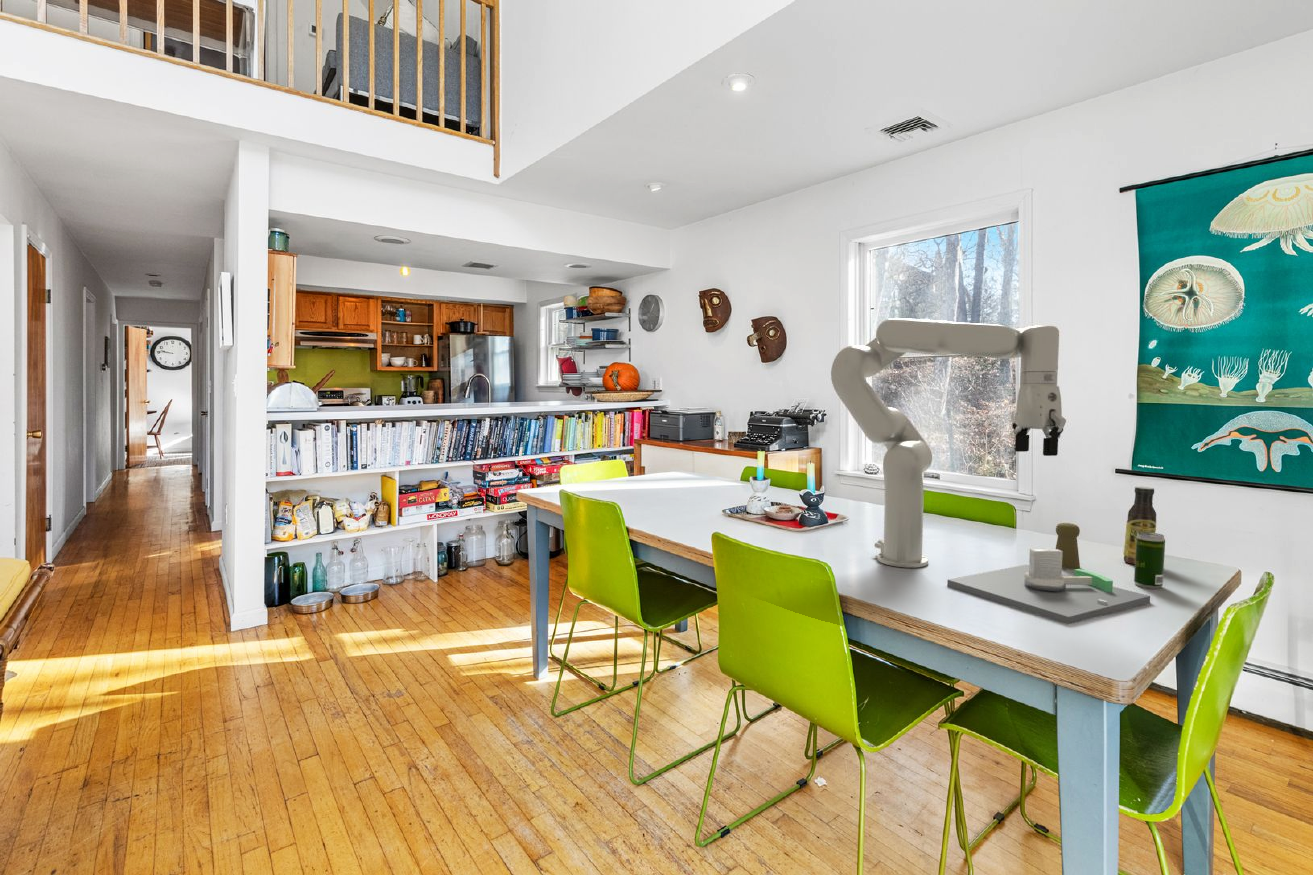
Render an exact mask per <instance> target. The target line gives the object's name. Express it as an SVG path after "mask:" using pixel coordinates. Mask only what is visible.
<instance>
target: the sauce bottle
mask: <svg viewBox="0 0 1313 875" xmlns="http://www.w3.org/2000/svg"><path fill="white" fill-rule="evenodd" d="M1134 493H1135V494H1134V495H1135V496H1134V502H1133V503H1134V504H1133V505H1132V506H1131V508H1130V509H1129V510H1128V511H1127V520H1126V524H1125V526H1126V527H1125V534H1124V535H1125V536H1124V544H1123V561H1124V562H1125V563H1128V564H1132V565H1135V554H1136V537H1137V535H1138V533H1139V532H1150V533H1157V532H1156V530H1157V512H1156V510H1155V509H1154V506H1153V504H1154V503H1153V500H1154V494H1155V488H1153V487H1149V486H1135V487H1134Z"/></svg>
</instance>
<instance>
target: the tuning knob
mask: <svg viewBox="0 0 1313 875" xmlns="http://www.w3.org/2000/svg"><path fill="white" fill-rule="evenodd" d="M1062 554H1063V551H1061V550H1058V549H1056V548H1030V549H1029V562H1028V563H1029V564H1028V565H1029V572H1027V573H1025V574H1024V584H1025V585H1026V586H1028V587H1031V588H1034V589H1039V590H1045V591H1063V590H1065V589H1066V585H1092V579H1093V578H1092V577H1090V576H1073V575H1069V576H1062V574H1063V573H1062V571H1063V568H1062Z"/></svg>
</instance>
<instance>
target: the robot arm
mask: <svg viewBox="0 0 1313 875" xmlns="http://www.w3.org/2000/svg"><path fill="white" fill-rule="evenodd" d="M875 333H876V334H875V338H874V339H873V340H871V341H869V342H868V343H867V344H866V345H857V344H856V345H855V344H854V345H849V346H846V347H844V348H842V349H841V350H840V351H839V352H838V353H837V354H836V356H835V357H834V359H833V362H832V365H831V370H830V378H831V384H832V387H833V389H834V391H835V392H836V394H837V396H838V398H839V399H840V401H841V402H842V404H843V405H844V406H845V407H846V409H847V411H848V412H849V413H850V415H851V416H852V418H853V419H854V421H855V423H856V424H857V425H858V426H859V428H860V430H862V432H863V434H864V435H865V437H866V438H867V439H868V440H869V441H870V442H872V443H874V444H880V445H882V444H883V446H884V447H885V448H886V449H887V450H886V452H885V453H884V456H883V460H882V461H883V462H882V470H883V480H884V481H883V484H884V510H883V512H884V513H883V514H884V516H883V517H884V519H883V520H884V521H883V539H879V540H877V542H875V543H874V547H875V548H876V549H880V553H878V554H877V555H876V559H877V561H878V562H880V563H881V564H883V565H887V566H891V567H897V568H905V569H906V568H909V569H912V568H921V567H922V568H923V567H926V566H928V565H929V559H928V558H927V557H926V556H925V555H923V537H924V534H923V531H924V530H923V528H924V526H923V525H924V481H923V474H924V473H925V472H926V471H927V470H928V469H929V468H930V467H931V465H932V462H933V453H932V449H931V448H930V446H929V445H928V443H927V441H925V439H924V438H923V436H922V435H921V434H920V432H919V431H918V430H917V428H916V427H915V426H914V424H913V423H912V422H911V420H910V419H909V418H908V417H907V416H906V414H905V413H903V412H902V411H901V410H899V409H897V408H895V407H890V406H889V407H888V406H887V405H886V404H885V403H884V401H883V400H882V399H881V397H880V396H879V395H878V393H877V392H876V390H875V389H874V388H873V387H872V386H871V385H870V384H869V382H868V381H867V380H866V378H871V377H874V376H875V375H877V374H878V373H881V372H882V371H883V370H885V368H888V367H889V366H890V365H891V364H893V363H894V362H896V361H897V360H899V359H901V358H902V357H903V356H904V355H905V354H906V353H910V354H921V355H934V356H946V355H947V356H948V355H959V356H971V357H981V358H983V357H984V358H993V359H998V360H1008V359H1016V358H1020V374H1019V375H1020V376H1019V377H1020V378H1019V389H1018V395H1017V400H1016V408H1015V410H1016V411H1015V413H1013V414H1012V415H1011V416H1010V421H1011V423H1012V424H1011V426H1012V428H1013V430H1014V431H1013V434H1014V435H1015V442H1014V451H1015V452H1017V453H1019V452H1023V453H1024V452H1029V451H1030V434H1028V433H1029V432H1030V430H1031V429H1033V430H1042V432H1043V434H1044V436H1045V437H1043V439H1042V441H1043V443H1042V446H1043V447H1042V455H1043V456H1045V457H1051V456H1052V457H1055V456H1058V455H1059V454H1058V453H1059V452H1058V451H1059V439H1060V438H1061V436H1062V435H1061V434H1062V433H1063V432H1064V427H1065V425H1066V423H1067V419H1066V418H1064V417H1063V416H1062V412H1063V411H1062V409H1063V408H1062V397H1061V390H1060V386H1059V385H1058V375H1059V374H1058V373H1059V372H1058V370H1059V350H1060V349H1059V347H1060V330H1059V328H1058V327H1057V326H1055V325H1034V326H1028V327H1025V328H1013V327H1010V326H1008V325H1002V324H989V323H988V324H987V323H969V322H955V321H950V320H949V321H947V320H933V319H931V320H930V319H919V318H917V319H916V318H903V317H902V318H899V317H892V318H891V317H890V318H887V319H885V320H883V321H881V323H880V324H878V327H877V329H876V332H875Z"/></svg>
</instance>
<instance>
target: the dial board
mask: <svg viewBox="0 0 1313 875" xmlns="http://www.w3.org/2000/svg"><path fill="white" fill-rule="evenodd" d="M1027 572H1029V564H1021V565H1017V566H1012V567H1011V566H1010V567H1007V568H1002V569H995V570H991V571H985V572H980V573H976V574H969V575H965V576H964V575H963V576H960V577H959V576H958V577H955V578H948V579H947V585H946V586H947V587H949V588H952V589H955V590H959V591H963V592H965V593H969V594H972V595H975V596H977V597H981V598H983V599H986V600H987V599H988V600H990V601H994V602H996V601H997V602H996V603H1000V604H1003V605H1006V606H1009V607H1013V608H1016V609H1018V610H1022V611H1025V612H1029V613H1032V614H1034V615H1038V616H1041V617H1045V618H1047V619H1050V620H1053V621H1056V622H1060V623H1062V624H1066V625H1071V624H1075V623H1079V622H1083V621H1086V620H1087V621H1088V620H1090V619H1094V618H1097V617H1102V616H1106V615H1110V614H1113V613H1116V612H1120V611H1124V610H1128V609H1133V608H1136V607H1140V606H1143V605H1147V604H1151V595H1148V594H1143V593H1140V592H1137V591H1132V590H1129V589H1124V588H1120V587H1116V586H1113V585H1114V583H1113V582H1114V581H1113V580H1111V579H1109V578H1108V577H1106V576H1105V575H1104V576H1103V575H1101V574H1098V573H1096V572H1093V571H1089V570H1086V569H1082V568H1079V569H1074V571H1073V572H1074V576H1090V577H1092V578H1093V579H1092V585H1066V589H1065V590H1063V591H1045V590H1039V589H1034V588H1031V587H1028V586H1026V585H1025V584H1024V574H1025V573H1027ZM1062 576H1070V575H1069V574H1065V573H1062Z"/></svg>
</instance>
